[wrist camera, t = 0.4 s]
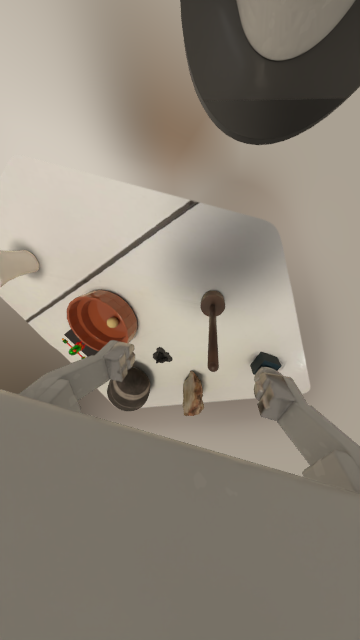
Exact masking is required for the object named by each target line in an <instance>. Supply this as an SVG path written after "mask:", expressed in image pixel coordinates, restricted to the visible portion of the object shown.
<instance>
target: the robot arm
mask: <svg viewBox="0 0 360 640" xmlns="http://www.w3.org/2000/svg"><path fill="white" fill-rule="evenodd" d="M236 2H237V6H238V11H239V16H240V20H241V24H242V27H243V30H244V33H245V35H246V37H247V39H248V41H249V43H250V44H251V46H252V47H253V48H254V50H255V51H256V52H257V53H259V54H260V55H261V56H263V57H265V58H267V59H270V60H275V61H282V60H288V59H292V58H295V57H297V56H299V55H301V54H303V53H305V52H307V51H308V50H310V49H311V48H313V47H314V46H315V45H317V44H318V43H319V42H320V41H321V40H322V39H324V38H325V37H326V36H327V35H328V34H329V33H330V32H331V31H332V30H333V29H334V27H335V26H336V25H337V24H338V23H339V22H340V20H341V19H342V18H343V17H344V16H345V14H346V13H347V12H348V10H349V9H350V8H351V6H352V5H353V3H354V2H355V0H236ZM133 351H134V345H133V344H128V343H124V342H120V341H115V340H111V341H109V342H108V343H107V344H106V345H105V346H104V347H103V348H102V349H101V350H100V351H99V352H98V353H97V354H96V355H94V356H93V355H91V356H89V357H86V358H84V359H81V360H79V361H76V362H74V363H71V364H68V365H66V366H63V367H61V368H58V369H56V370H53V371H51V372H48V373H46V374H44V375H43V376H42V377H40V378H39V379H38V380H36V381H35V382H34V383H33V384H31V385H30V386H29V387H27V388H26V389H25V390H24V391H22V392H21V393H20V394H14V393H11V392H8V391H4V390H1V389H0V640H360V446H359V445H357V444H356V443H355V442H354V441H352V440H351V439H350V438H349V437H348V436H347V435H345V434H344V433H343V432H342V431H341V430H340V429H338V428H337V427H336V426H335V425H334V424H333V423H331V422H330V421H329V420H328V419H326V418H325V417H324V416H323V415H322V414H321V413H319V412H318V411H317V410H316V409H315V408H314V407H312V406H310V405H308V404H307V402H306V400H305V399H304V397H303V395H302V394H301V392H300V390H299V389H298V387H297V385H296V384H295V382H294V381H293V379H292V378H290V377H286V376H280V375H275V374H270V373H266V372H262V373H260V375H259V378H260V379H259V380H257V381H256V383H255V385H254V394H255V397H256V399H258V401H259V403H258V408H259V412H260V415H261V417H265V418H268V419H271V420H275V421H277V422H278V423H279V425H280V426H281V428H282V429H283V430H284V431H285V433H286V434H287V435H288V437H289V438H290V440H291V441H292V442H293V443H294V445H295V446H296V447H297V449H298V450H299V451H300V453H301V454H302V455H303V456H304V458H305V459H306V460H307V462H308V463H309V464H310V466H309V467H308V468H306V469H305V470H304V471H303V472H302V474H303V477H301V476H298V475H295V474H291V473H287V472H284V471H281V470H277V469H274V468H270V467H267V466H263V465H259V464H256V463H253V462H250V461H246V460H243V459H239V458H236V457H232V456H229V455H225V454H222V453H219V452H215V451H212V450H208V449H204V448H201V447H198V446H194V445H191V444H188V443H184V442H181V441H177V440H174V439H170V438H167V437H163V436H160V435H156V434H153V433H149V432H146V431H143V430H139V429H135V428H132V427H129V426H125V425H122V424H118V423H115V422H111V421H108V420H105V419H101V418H98V417H94V416H91V415H87V414H84V413H80V410H81V406H80V404H79V402H78V400H80V399H81V398H83V397H84V396H86V395H87V394H89V393H90V392H92V391H93V390H95V389H96V388H98V387H99V386H101V385H102V384H104V383H105V382H107V381H109V379H111V380H115V381H120V382H122V381H123V380H124V378H125V377H126V375H127V370H128V369H130V368H131V367H132V366H133V364H134V361H135V354H134V352H133Z"/></svg>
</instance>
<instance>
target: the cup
mask: <svg viewBox="0 0 360 640" xmlns="http://www.w3.org/2000/svg"><path fill="white" fill-rule="evenodd" d="M38 269H39V263H38V261H37V259H36V257H35V256H34V255H33V254H32V253H30V252H29V251H26V250H17V251H0V287H2V286H3V285H4V284H6V283H7V282H8V281H10V280H12V279H14V278H16V277H18V276H21V275H24V274H28V273H32V272H37V271H38Z"/></svg>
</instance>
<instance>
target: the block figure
mask: <svg viewBox="0 0 360 640" xmlns="http://www.w3.org/2000/svg"><path fill="white" fill-rule="evenodd" d="M156 350H157V352H156V353H154V354H153V358H154V359H155V360H156V363H159V362H160V363H163V362H165V361H167V362H168V361H169V362H170V361H172V357H171V356H170V355H169V353H167V352H165V350H164V349H162V348H160V347H159V348H157V349H156Z"/></svg>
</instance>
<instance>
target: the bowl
mask: <svg viewBox="0 0 360 640" xmlns="http://www.w3.org/2000/svg"><path fill="white" fill-rule="evenodd" d="M111 317H114V318H116V319H117V320H118V322H119V323H118V326H117V327H115V328H110V327H109V326H108V325H107V320H108V319H109V318H111ZM67 320H68V322H69V325H70V327H71V329H72V330H73V332H74V333H75V335H76V336H77V337H78V338H79V339H80V340H81V341H82V342H83V343H84V344H86V345H87V346H89V347H90V348H92V349H94V350H96V351H100V350H101V349H102V348H103V347H104V346H105V345H106V344H107V343H108V342H109V341H111V340H115V341H120V342H124V343H129V342H130V341H131V339H132V338H133V337H134V336H135V334H136V331H137V319H136V317H135V314H134V312H133V310H132V309H131V308H130V306H129V305H128V304H127V302H125V301H124V300H123V299H122V298H120V297H119V296H118V295H115V294H113V293H111V292H109V291H103V290H97V291H92V292H89V293H87V294H84V295H82V296H79V297H77V298H75V299H74V300H72V301H71V302H70V303H69V306H68V308H67Z"/></svg>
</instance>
